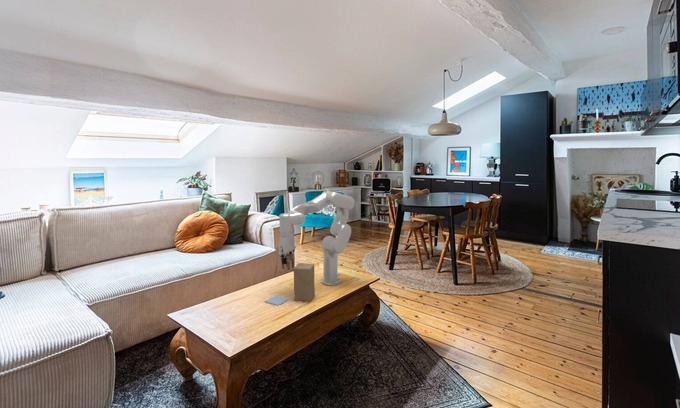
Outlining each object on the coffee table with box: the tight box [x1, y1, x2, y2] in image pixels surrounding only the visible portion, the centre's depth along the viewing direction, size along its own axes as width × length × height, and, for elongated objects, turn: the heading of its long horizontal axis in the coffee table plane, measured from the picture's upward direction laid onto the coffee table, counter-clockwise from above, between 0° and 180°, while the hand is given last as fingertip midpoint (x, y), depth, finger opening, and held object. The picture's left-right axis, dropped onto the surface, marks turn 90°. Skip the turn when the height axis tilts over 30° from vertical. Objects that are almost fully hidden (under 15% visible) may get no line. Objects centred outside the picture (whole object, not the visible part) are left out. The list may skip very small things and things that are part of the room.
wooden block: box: [293, 262, 315, 302], centre depth 207 cm, size 10×10×20 cm
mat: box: [264, 295, 290, 307], centre depth 204 cm, size 10×10×1 cm
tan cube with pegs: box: [279, 252, 295, 271], centre depth 213 cm, size 6×6×8 cm
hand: (287, 262), depth 213 cm, fingers closed on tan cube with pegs, 6 cm apart
